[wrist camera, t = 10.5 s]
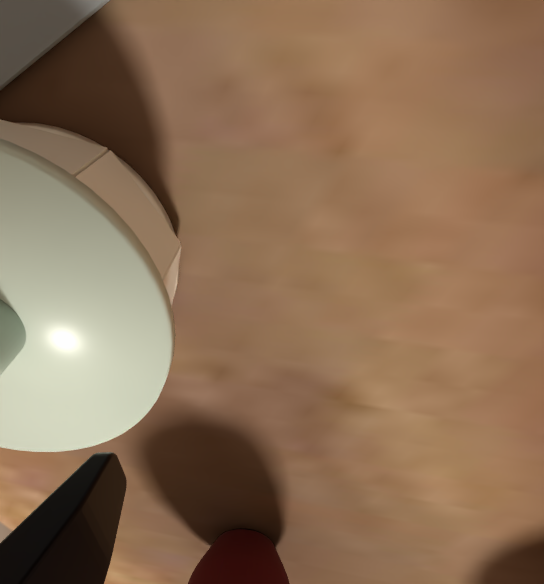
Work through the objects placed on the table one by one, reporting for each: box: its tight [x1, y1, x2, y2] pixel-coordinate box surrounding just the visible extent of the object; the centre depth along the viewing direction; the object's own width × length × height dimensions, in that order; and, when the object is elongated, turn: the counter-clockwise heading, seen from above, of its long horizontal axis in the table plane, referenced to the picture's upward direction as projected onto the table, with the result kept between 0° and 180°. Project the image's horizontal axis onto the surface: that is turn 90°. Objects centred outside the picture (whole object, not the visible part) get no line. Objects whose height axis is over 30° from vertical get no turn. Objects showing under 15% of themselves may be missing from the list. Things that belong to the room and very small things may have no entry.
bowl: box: [0, 119, 181, 307], centre depth 19 cm, size 11×11×5 cm
